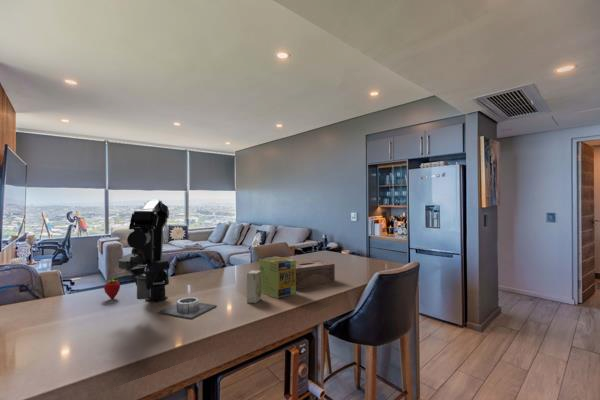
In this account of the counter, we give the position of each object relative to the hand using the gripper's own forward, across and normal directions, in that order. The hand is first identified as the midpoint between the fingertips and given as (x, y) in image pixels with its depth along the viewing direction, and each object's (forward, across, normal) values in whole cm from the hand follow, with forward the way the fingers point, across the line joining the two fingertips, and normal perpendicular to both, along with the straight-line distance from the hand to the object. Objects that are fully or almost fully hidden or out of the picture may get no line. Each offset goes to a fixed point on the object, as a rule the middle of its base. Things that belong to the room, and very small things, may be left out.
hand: (143, 288), depth 104 cm
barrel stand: (+11, +8, +13) cm, 19 cm away
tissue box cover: (+11, +36, +68) cm, 78 cm away
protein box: (+11, +30, +46) cm, 56 cm away
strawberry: (+11, -32, +11) cm, 36 cm away
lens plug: (+3, 0, 0) cm, 3 cm away
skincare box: (+11, +26, +32) cm, 43 cm away
